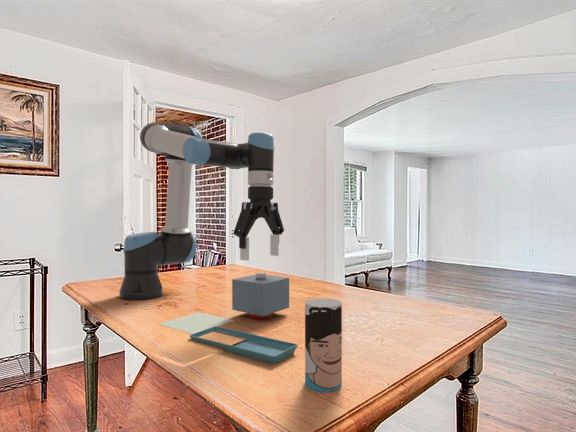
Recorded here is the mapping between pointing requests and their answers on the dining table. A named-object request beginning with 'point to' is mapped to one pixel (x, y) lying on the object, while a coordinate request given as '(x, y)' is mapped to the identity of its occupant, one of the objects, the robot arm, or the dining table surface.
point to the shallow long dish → (250, 345)
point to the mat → (195, 322)
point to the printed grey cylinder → (323, 344)
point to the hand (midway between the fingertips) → (260, 257)
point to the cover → (260, 294)
